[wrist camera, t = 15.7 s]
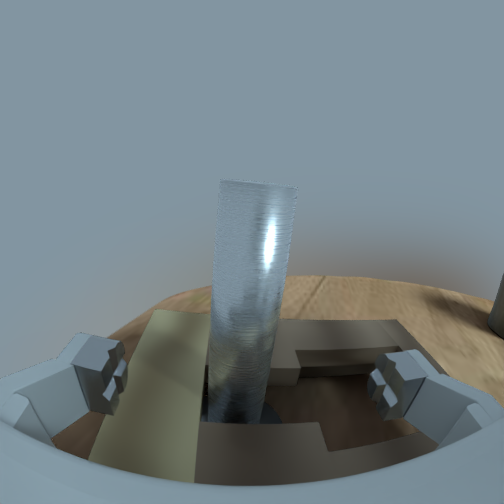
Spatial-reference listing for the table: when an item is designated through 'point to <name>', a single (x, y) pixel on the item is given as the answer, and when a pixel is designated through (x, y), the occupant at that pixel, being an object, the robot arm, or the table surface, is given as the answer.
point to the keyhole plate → (244, 435)
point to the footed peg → (247, 298)
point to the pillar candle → (498, 312)
